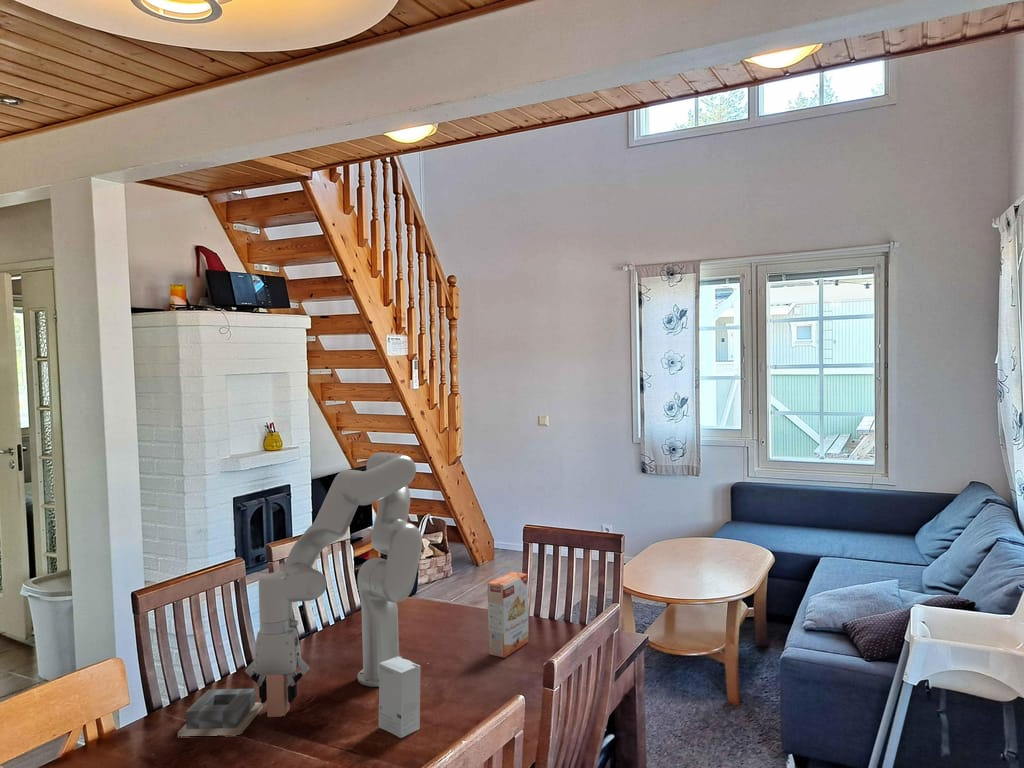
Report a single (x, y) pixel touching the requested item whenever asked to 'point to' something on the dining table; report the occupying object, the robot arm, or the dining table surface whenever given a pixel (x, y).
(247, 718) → the socket block
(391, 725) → the skincare box
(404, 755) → the dining table surface
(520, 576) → the cracker box
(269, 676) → the peg
